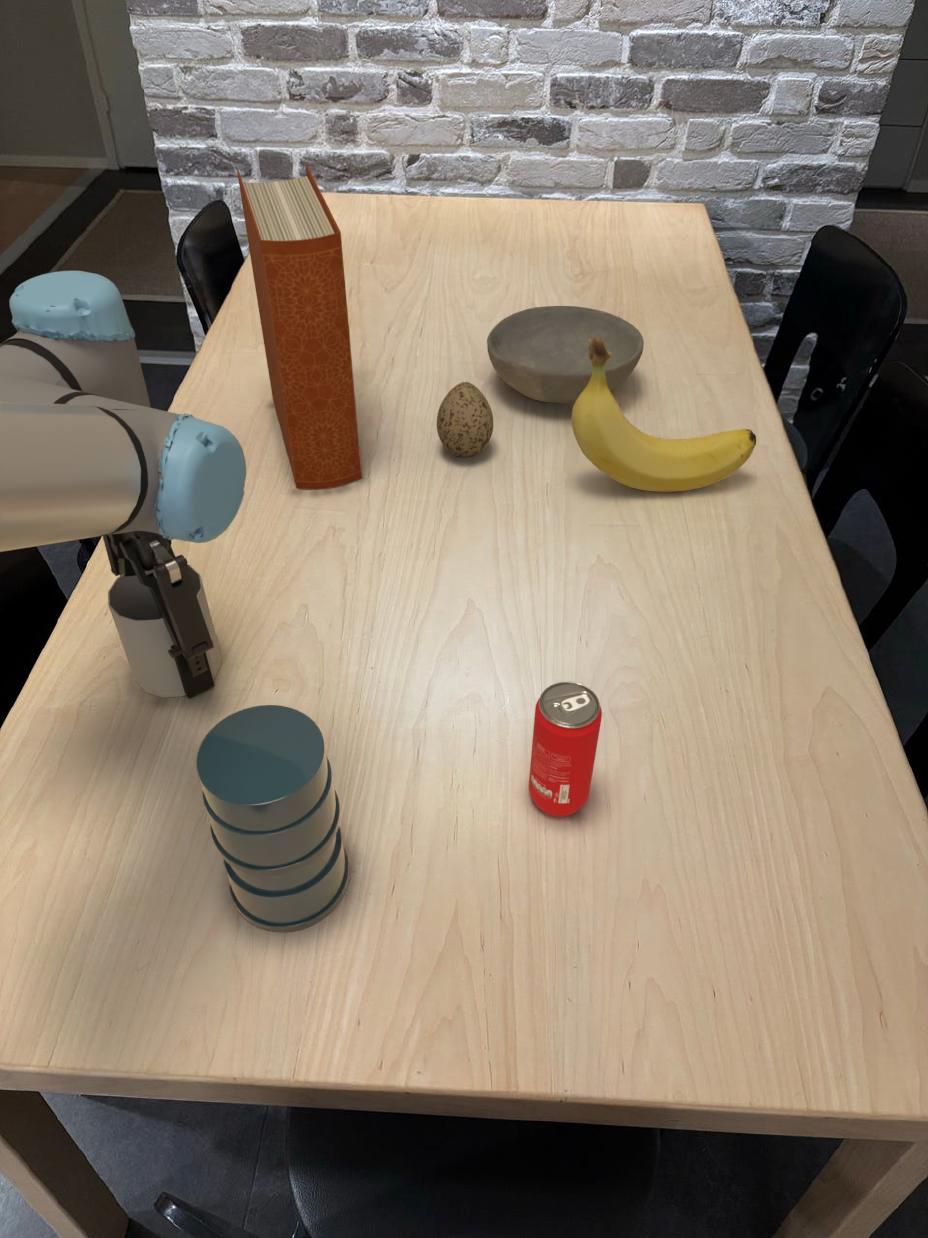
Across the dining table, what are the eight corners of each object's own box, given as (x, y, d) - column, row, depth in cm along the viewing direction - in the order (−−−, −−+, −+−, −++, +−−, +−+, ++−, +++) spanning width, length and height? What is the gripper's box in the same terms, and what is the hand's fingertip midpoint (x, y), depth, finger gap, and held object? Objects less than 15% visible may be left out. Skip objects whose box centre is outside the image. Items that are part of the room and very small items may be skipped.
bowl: (544, 444, 119) (549, 389, 113) (457, 377, 131) (457, 325, 126) (666, 399, 127) (675, 346, 122) (573, 340, 140) (578, 290, 134)
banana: (737, 467, 115) (775, 317, 101) (752, 494, 111) (794, 341, 97) (561, 477, 113) (575, 325, 100) (569, 505, 109) (585, 350, 95)
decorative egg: (501, 461, 116) (504, 391, 109) (448, 473, 114) (448, 402, 107) (479, 433, 121) (481, 364, 114) (429, 444, 119) (427, 374, 112)
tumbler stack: (270, 956, 68) (234, 836, 57) (209, 870, 73) (165, 745, 62) (372, 884, 72) (357, 759, 61) (308, 808, 78) (283, 680, 67)
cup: (119, 663, 90) (91, 587, 83) (192, 624, 94) (171, 548, 87) (162, 711, 85) (136, 635, 79) (237, 668, 90) (219, 592, 83)
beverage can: (517, 783, 80) (524, 691, 71) (569, 763, 81) (582, 671, 73) (545, 829, 76) (556, 738, 68) (599, 808, 78) (615, 716, 70)
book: (272, 399, 127) (237, 170, 106) (331, 391, 128) (307, 164, 108) (297, 493, 111) (261, 244, 90) (363, 482, 112) (342, 235, 92)
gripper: (224, 513, 70) (267, 708, 85) (107, 402, 82) (163, 591, 97) (133, 553, 66) (194, 748, 82) (24, 431, 78) (96, 622, 94)
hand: (177, 663), depth 90 cm, fingers closed on cup, 8 cm apart
